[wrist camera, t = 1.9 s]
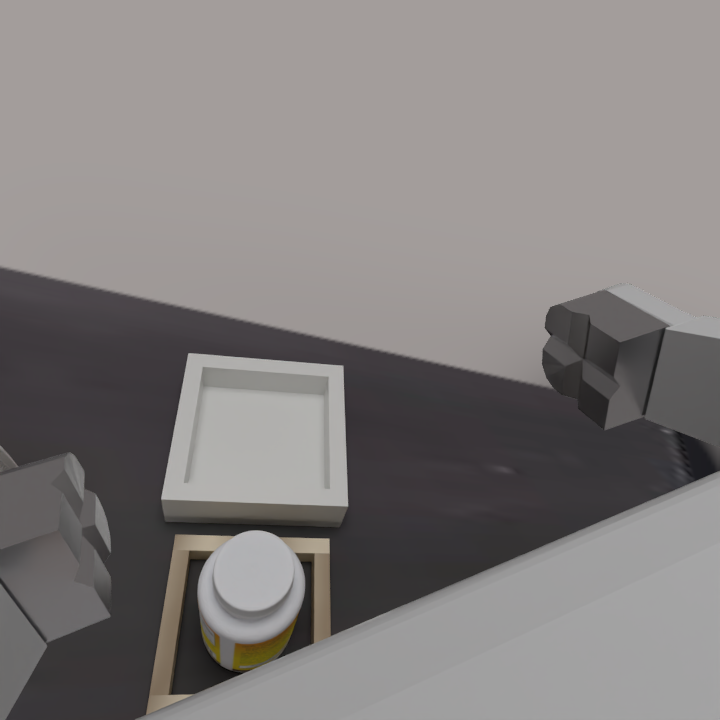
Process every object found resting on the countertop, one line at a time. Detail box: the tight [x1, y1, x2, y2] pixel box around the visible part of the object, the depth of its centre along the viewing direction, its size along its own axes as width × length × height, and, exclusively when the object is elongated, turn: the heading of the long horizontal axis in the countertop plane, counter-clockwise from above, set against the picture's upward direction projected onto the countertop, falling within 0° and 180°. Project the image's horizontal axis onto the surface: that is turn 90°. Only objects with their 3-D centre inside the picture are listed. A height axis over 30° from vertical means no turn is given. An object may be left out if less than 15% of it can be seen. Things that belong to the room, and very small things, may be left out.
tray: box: [161, 353, 348, 527], centre depth 42 cm, size 12×12×4 cm
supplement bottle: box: [197, 530, 305, 672], centre depth 31 cm, size 6×6×10 cm
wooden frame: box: [146, 535, 331, 715], centre depth 35 cm, size 10×10×2 cm
